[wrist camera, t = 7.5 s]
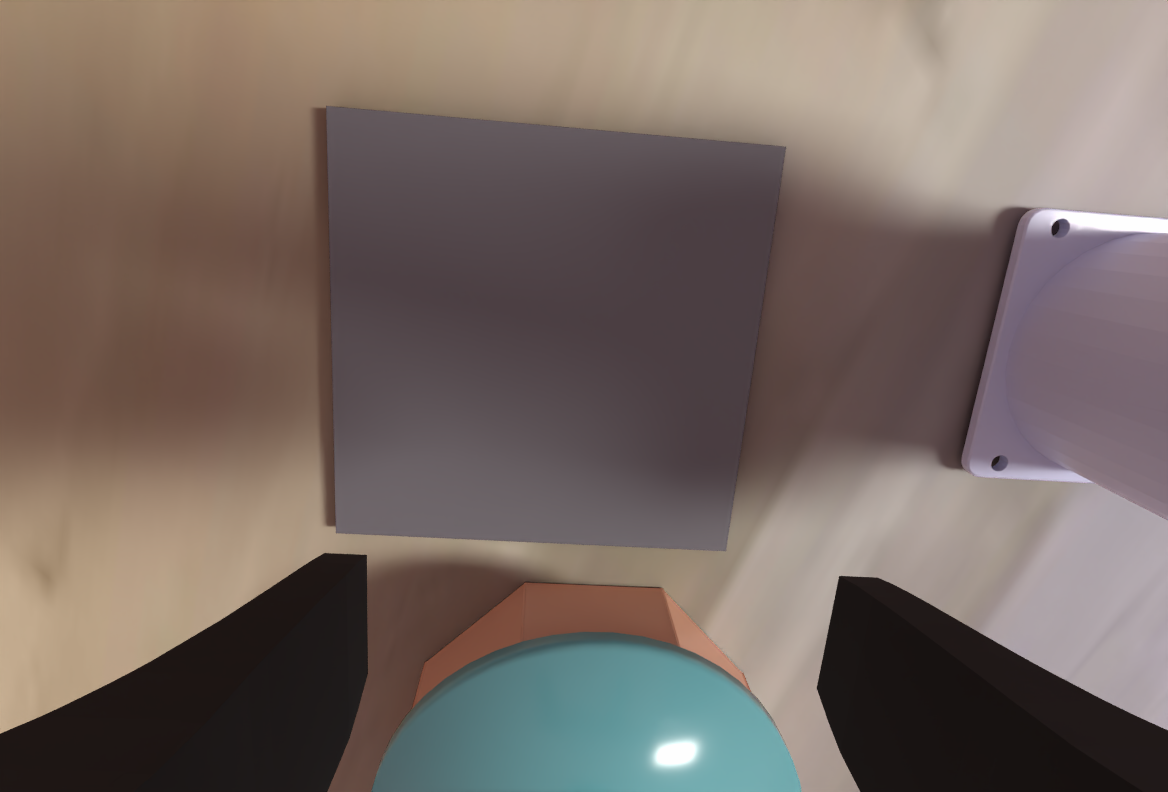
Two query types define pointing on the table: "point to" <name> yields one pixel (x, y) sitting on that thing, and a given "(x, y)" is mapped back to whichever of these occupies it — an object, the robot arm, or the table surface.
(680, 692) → the lid
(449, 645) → the ramekin
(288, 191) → the table surface
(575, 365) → the mat
